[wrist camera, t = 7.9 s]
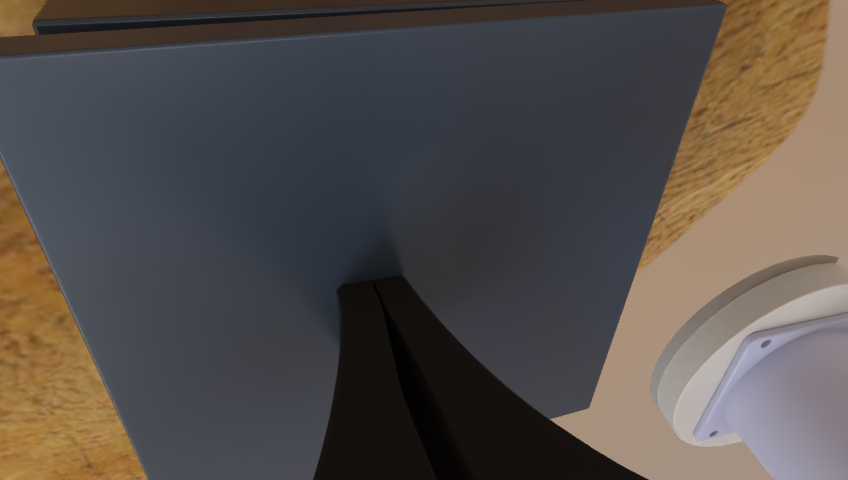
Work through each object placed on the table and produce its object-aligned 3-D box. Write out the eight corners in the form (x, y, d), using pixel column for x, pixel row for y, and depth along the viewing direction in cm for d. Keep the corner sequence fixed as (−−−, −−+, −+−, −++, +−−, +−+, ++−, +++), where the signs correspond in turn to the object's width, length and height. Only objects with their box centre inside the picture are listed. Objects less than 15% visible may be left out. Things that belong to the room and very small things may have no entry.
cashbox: (196, 344, 20) (193, 473, 16) (81, -53, 12) (28, 21, 9) (516, 288, 22) (576, 387, 19) (581, -62, 15) (699, -9, 11)
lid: (168, 499, 15) (168, 528, 15) (-32, 37, 8) (-49, 59, 7) (576, 388, 19) (589, 408, 18) (700, -8, 11) (729, 4, 11)
